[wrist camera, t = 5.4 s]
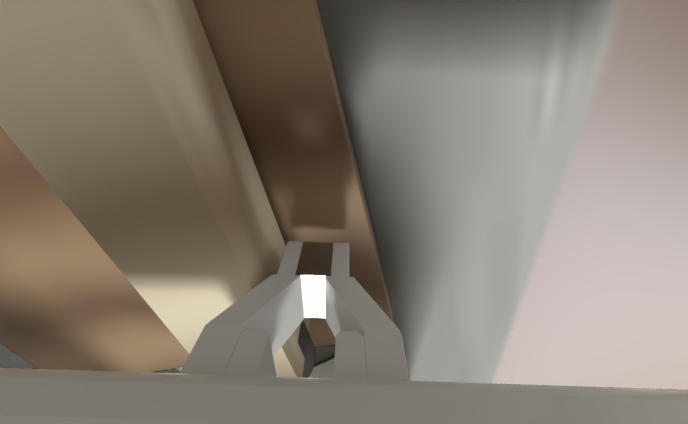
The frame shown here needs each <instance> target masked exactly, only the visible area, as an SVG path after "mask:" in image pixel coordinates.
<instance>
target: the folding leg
mask: <svg viewBox="0 0 688 424" xmlns="http://www.w3.org/2000/svg"><path fill="white" fill-rule="evenodd" d="M0 126H1V127H2V129H3V130H4V131H5V132H6V133H7V135H8V136H9V137H10V138H11V139H12V141H13V142H14V143H15V144H16V145H17V147H18V148H19V149H20V150H21V151H22V153H23V154H24V155H25V156H26V157H27V159H28V160H29V161H30V162H31V164H32V165H33V166H34V167H35V168H36V170H37V171H38V172H39V173H40V174H41V176H42V177H43V178H44V179H45V180H46V182H47V183H48V184H49V185H50V186H51V188H52V189H53V190H54V191H55V192H56V194H57V195H58V196H59V197H60V199H61V200H62V201H63V202H64V203H65V205H66V206H67V207H68V208H69V209H70V211H71V212H72V213H73V214H74V215H75V217H76V218H77V219H78V220H79V221H80V223H81V224H82V225H83V226H84V228H85V229H86V230H87V231H88V232H89V234H90V235H91V236H92V237H93V238H94V240H95V241H96V242H97V243H98V244H99V246H100V247H101V248H102V249H103V250H104V252H105V253H106V254H107V255H108V256H109V258H110V259H111V260H112V261H113V263H114V264H115V265H116V266H117V267H118V269H119V270H120V271H121V272H122V273H123V275H124V276H125V277H126V278H127V279H128V281H129V282H130V283H131V284H132V285H133V287H134V288H135V289H136V290H137V291H138V293H139V294H140V295H141V296H142V298H143V299H144V300H145V301H146V302H147V304H148V305H149V306H150V307H151V308H152V310H153V311H154V312H155V313H156V314H157V316H158V317H159V318H160V319H161V320H162V322H163V323H164V324H165V325H166V327H167V328H168V329H169V330H170V331H171V333H172V334H173V335H174V336H175V337H176V339H177V340H178V341H179V342H180V343H181V345H182V346H183V347H184V348H185V349H186V351H187V352H188V353H189V354H190V353H191V351H192V349H193V347H194V345H195V343H196V341H197V340H198V338H199V336H200V334H201V332H202V330H203V328H204V326H205V325H206V324H207V323H209V322H210V321H211V320H212V319H214V318H215V317H216V316H218V315H219V314H220V313H222V312H223V311H224V310H226V309H227V308H228V307H230V306H231V305H232V304H234V303H235V302H236V301H238V300H239V299H240V298H242V297H243V296H244V295H246V294H247V293H248V292H250V291H251V290H252V289H254V288H255V287H256V286H257V285H259V284H260V283H261V282H263V281H264V280H265V279H267V278H268V277H269V276H271V275H277V272H278V269H279V266H280V263H281V260H282V257H283V254H284V251H285V248H286V245H285V243H284V240H283V238H282V235H281V232H280V230H279V227H278V224H277V222H276V219H275V216H274V214H273V211H272V208H271V206H270V203H269V200H268V198H267V195H266V193H265V190H264V187H263V185H262V182H261V179H260V177H259V174H258V171H257V169H256V166H255V163H254V161H253V158H252V156H251V153H250V150H249V148H248V145H247V142H246V140H245V137H244V134H243V132H242V129H241V126H240V124H239V121H238V119H237V116H236V113H235V111H234V108H233V105H232V103H231V100H230V97H229V95H228V92H227V89H226V87H225V84H224V82H223V79H222V76H221V74H220V71H219V68H218V66H217V63H216V60H215V58H214V55H213V52H212V50H211V47H210V45H209V42H208V39H207V37H206V34H205V31H204V29H203V26H202V23H201V21H200V18H199V15H198V13H197V10H196V7H195V5H194V2H193V0H0ZM303 319H304V320H303V321H302V322H301V323H300V325H299V326H298V327H297V328H296V330H295V331H294V332H293V333H292V335H291V336H290V337H289V338H288V340H287V341H286V342H285V343H284V345H283V346H282V347H281V348H280V350H279V351H278V352H277V353H276V355H275V356H274V357H273V359H274V365H275V370H276V375H277V377H303V378H309V376H310V375H311V372H312V370H313V367H314V363H315V347H314V344H313V342H312V339H311V337H310V334H309V325H310V318H303Z"/></svg>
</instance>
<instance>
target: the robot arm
mask: <svg viewBox="0 0 688 424" xmlns="http://www.w3.org/2000/svg"><path fill="white" fill-rule="evenodd" d="M303 318H322V319H326V321H327V323H328V325H329V327H330V329H331V331H332V333H333V335H334V337H335V338H336V341H335V357H334V373H333V378H303V377H277V375H276V370H275V365H274V359H273V357H274V356H275V355H276V353H277V352H278V351H279V350H280V348H281V347H282V346H283V345H284V343H285V342H286V341H287V340H288V338H289V337H290V336H291V335H292V333H293V332H294V331H295V330H296V328H297V327H298V326H299V325H300V323H301V322H302V321H303V320H304V319H303ZM0 424H688V390H675V389H644V388H613V387H582V386H550V385H520V384H519V385H517V384H489V383H458V382H427V381H410V376H409V370H408V365H407V360H406V354H405V349H404V344H403V339H402V333H401V331H400V330H399V329H398V328H397V326H396V325H395V324H394V323H393V322H392V321H391V320H390V318H389V317H388V316H387V315H386V314H385V313H384V311H383V310H382V309H381V308H380V307H379V306H378V305H377V303H376V302H375V301H374V300H373V299H372V298H371V297H370V295H369V294H368V293H367V292H366V291H365V290H364V288H363V287H362V286H361V285H360V284H359V283H358V282H357V280H356V279H355V278H354V277H349V243H348V242H334V243H329V242H310V241H289V242H288V243H287V245H286V248H285V251H284V254H283V257H282V260H281V263H280V266H279V269H278V272H277V275H271V276H269V277H268V278H267V279H265V280H264V281H263V282H261V283H260V284H259V285H257V286H256V287H255V288H254V289H252V290H251V291H250V292H248V293H247V294H246V295H244V296H243V297H242V298H240V299H239V300H238V301H236V302H235V303H234V304H232V305H231V306H230V307H228V308H227V309H226V310H224V311H223V312H222V313H220V314H219V315H218V316H216V317H215V318H214V319H212V320H211V321H210V322H209V323H207V324H206V325H205V326H204V328H203V330H202V332H201V334H200V336H199V338H198V340H197V341H196V343H195V345H194V347H193V349H192V351H191V353H190V354H189V356H188V358H187V360H186V362H185V364H184V366H183V367H182V369H181V371H180V373H152V372H122V371H91V370H60V369H29V368H0Z"/></svg>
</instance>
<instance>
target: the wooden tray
mask: <svg viewBox="0 0 688 424" xmlns="http://www.w3.org/2000/svg"><path fill="white" fill-rule="evenodd" d="M193 2H194V5H195V7H196V10H197V13H198V15H199V18H200V21H201V23H202V26H203V29H204V31H205V34H206V37H207V39H208V42H209V45H210V47H211V50H212V52H213V55H214V58H215V60H216V63H217V66H218V68H219V71H220V74H221V76H222V79H223V82H224V84H225V87H226V89H227V92H228V95H229V97H230V100H231V103H232V105H233V108H234V111H235V113H236V116H237V119H238V121H239V124H240V126H241V129H242V132H243V134H244V137H245V140H246V142H247V145H248V148H249V150H250V153H251V156H252V158H253V161H254V163H255V166H256V169H257V171H258V174H259V177H260V179H261V182H262V185H263V187H264V190H265V193H266V195H267V198H268V200H269V203H270V206H271V208H272V211H273V214H274V216H275V219H276V222H277V224H278V227H279V230H280V232H281V235H282V238H283V240H284V243H285V245H287V243H288V242H289V241H310V242H329V243H334V242H348V243H349V277H354V278H355V279H356V280H357V282H358V283H359V284H360V285H361V286H362V287H363V288H364V290H365V291H366V292H367V293H368V294H369V295H370V297H371V298H372V299H373V300H374V301H375V302H376V303H377V305H378V306H379V307H380V308H381V309H382V310H383V311H384V313H385V314H386V315H387V316H388V317H389V318H390V320H391V321H392V322H393V317H392V311H391V305H390V300H389V294H388V290H387V286H386V282H385V278H384V274H383V270H382V266H381V262H380V258H379V253H378V249H377V245H376V241H375V237H374V233H373V229H372V225H371V221H370V217H369V213H368V208H367V204H366V200H365V196H364V192H363V188H362V184H361V180H360V176H359V172H358V167H357V163H356V159H355V155H354V151H353V147H352V143H351V139H350V135H349V131H348V127H347V122H346V118H345V114H344V110H343V106H342V102H341V98H340V94H339V90H338V86H337V81H336V77H335V73H334V69H333V65H332V61H331V57H330V53H329V49H328V45H327V41H326V36H325V32H324V28H323V24H322V20H321V16H320V12H319V8H318V4H317V0H193ZM393 323H394V322H393ZM309 334H310V337H311V339H312V342H313V344H314V347H321V346H328V345H334V344H335V341H336V338H335V337H334V335H333V333H332V331H331V329H330V327H329V325H328V323H327V321H326V319H322V318H310V325H309ZM0 343H1V344H2V345H4V346H5V347H7V348H8V349H10V350H11V351H13V352H14V353H16V354H17V355H19V356H20V357H22V358H23V359H25V360H26V361H28V362H29V363H31V364H32V365H34V366H35V367H37V368H38V369H60V370H91V371H122V372H152V371H159V370H166V369H173V368H179V367H183V366H184V364H185V362H186V360H187V358H188V356H189V353H188V352H187V351H186V349H185V348H184V347H183V346H182V345H181V343H180V342H179V341H178V340H177V339H176V337H175V336H174V335H173V334H172V333H171V331H170V330H169V329H168V328H167V327H166V325H165V324H164V323H163V322H162V320H161V319H160V318H159V317H158V316H157V314H156V313H155V312H154V311H153V310H152V308H151V307H150V306H149V305H148V304H147V302H146V301H145V300H144V299H143V298H142V296H141V295H140V294H139V293H138V291H137V290H136V289H135V288H134V287H133V285H132V284H131V283H130V282H129V281H128V279H127V278H126V277H125V276H124V275H123V273H122V272H121V271H120V270H119V269H118V267H117V266H116V265H115V264H114V263H113V261H112V260H111V259H110V258H109V256H108V255H107V254H106V253H105V252H104V250H103V249H102V248H101V247H100V246H99V244H98V243H97V242H96V241H95V240H94V238H93V237H92V236H91V235H90V234H89V232H88V231H87V230H86V229H85V228H84V226H83V225H82V224H81V223H80V221H79V220H78V219H77V218H76V217H75V215H74V214H73V213H72V212H71V211H70V209H69V208H68V207H67V206H66V205H65V203H64V202H63V201H62V200H61V199H60V197H59V196H58V195H57V194H56V192H55V191H54V190H53V189H52V188H51V186H50V185H49V184H48V183H47V182H46V180H45V179H44V178H43V177H42V176H41V174H40V173H39V172H38V171H37V170H36V168H35V167H34V166H33V165H32V164H31V162H30V161H29V160H28V159H27V157H26V156H25V155H24V154H23V153H22V151H21V150H20V149H19V148H18V147H17V145H16V144H15V143H14V142H13V141H12V139H11V138H10V137H9V136H8V135H7V133H6V132H5V131H4V130H3V129H2V127H1V126H0Z"/></svg>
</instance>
